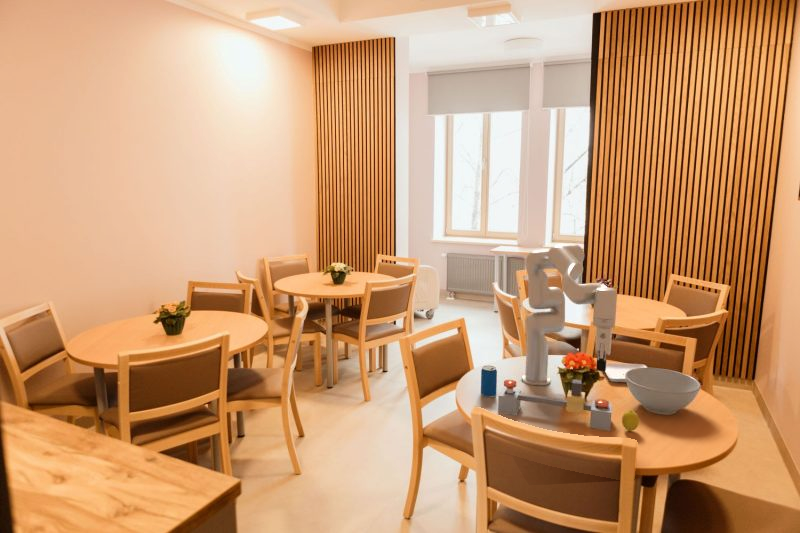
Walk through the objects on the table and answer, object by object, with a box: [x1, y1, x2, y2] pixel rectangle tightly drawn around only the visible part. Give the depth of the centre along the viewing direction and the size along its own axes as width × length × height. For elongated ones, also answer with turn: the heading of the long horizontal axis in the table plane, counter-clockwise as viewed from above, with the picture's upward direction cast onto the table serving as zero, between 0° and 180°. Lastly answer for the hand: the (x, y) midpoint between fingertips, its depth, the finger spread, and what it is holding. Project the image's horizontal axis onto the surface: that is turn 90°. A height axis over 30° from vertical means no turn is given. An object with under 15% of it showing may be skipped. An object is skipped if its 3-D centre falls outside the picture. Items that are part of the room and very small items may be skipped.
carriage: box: [565, 378, 586, 415], centre depth 204 cm, size 6×6×11 cm
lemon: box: [621, 409, 640, 432], centre depth 196 cm, size 6×6×8 cm
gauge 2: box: [594, 398, 610, 409], centre depth 201 cm, size 5×5×7 cm
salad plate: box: [604, 362, 648, 383], centre depth 250 cm, size 21×21×3 cm
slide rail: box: [497, 386, 613, 432], centre depth 208 cm, size 9×41×7 cm, turn 67°
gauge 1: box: [503, 379, 517, 395], centre depth 214 cm, size 5×5×7 cm
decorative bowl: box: [625, 367, 701, 416], centre depth 215 cm, size 27×27×12 cm
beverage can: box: [480, 365, 498, 398], centre depth 228 cm, size 6×6×12 cm
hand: (600, 370), depth 199 cm, fingers closed
